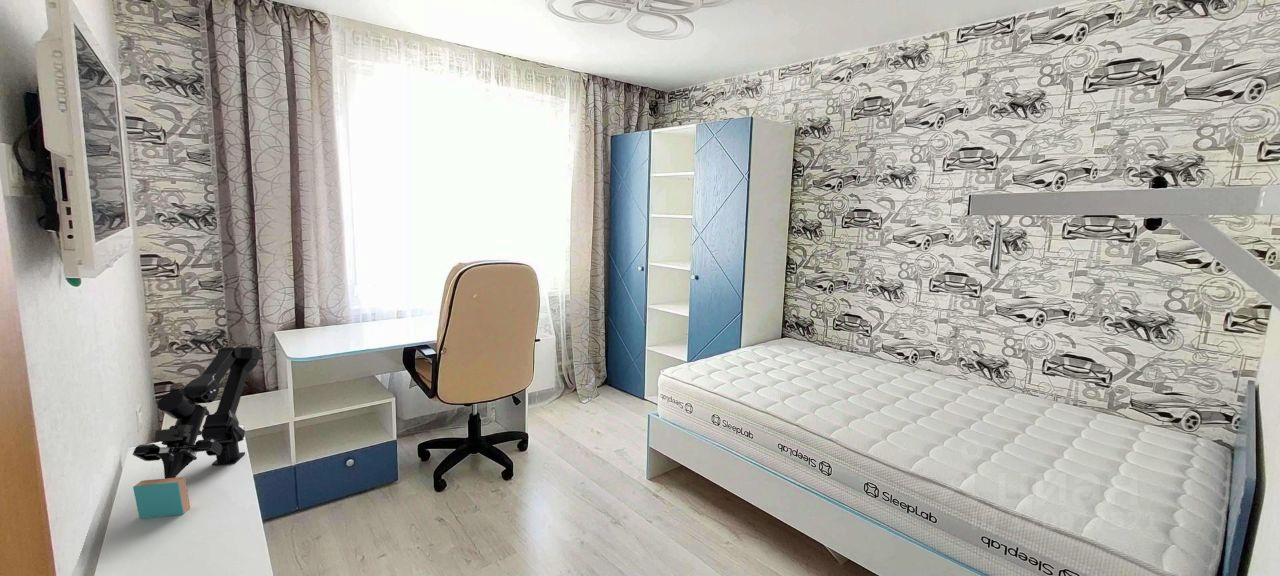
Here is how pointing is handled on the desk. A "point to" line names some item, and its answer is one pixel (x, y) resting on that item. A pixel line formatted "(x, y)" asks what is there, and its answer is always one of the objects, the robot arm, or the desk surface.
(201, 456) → the desk surface
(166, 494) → the tile
